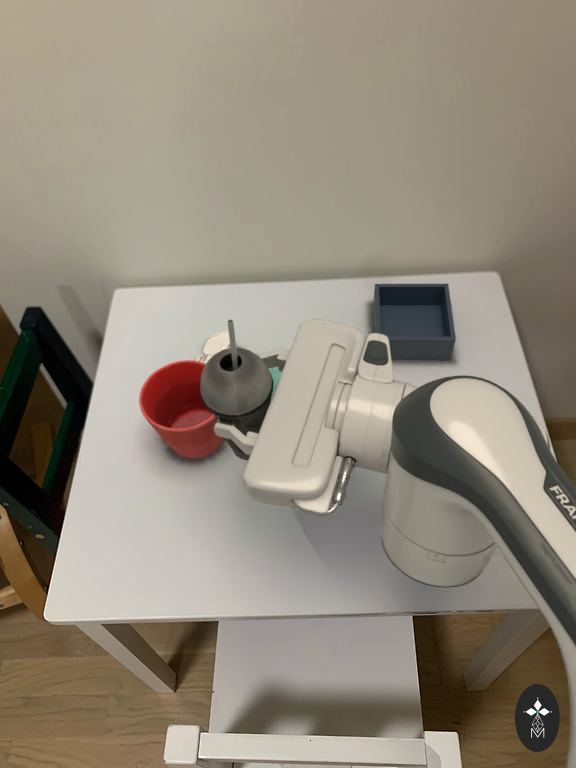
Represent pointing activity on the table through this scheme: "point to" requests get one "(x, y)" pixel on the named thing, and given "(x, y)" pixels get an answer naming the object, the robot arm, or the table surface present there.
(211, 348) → the toy car
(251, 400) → the beverage cup
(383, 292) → the freezer basket
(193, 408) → the flower pot
